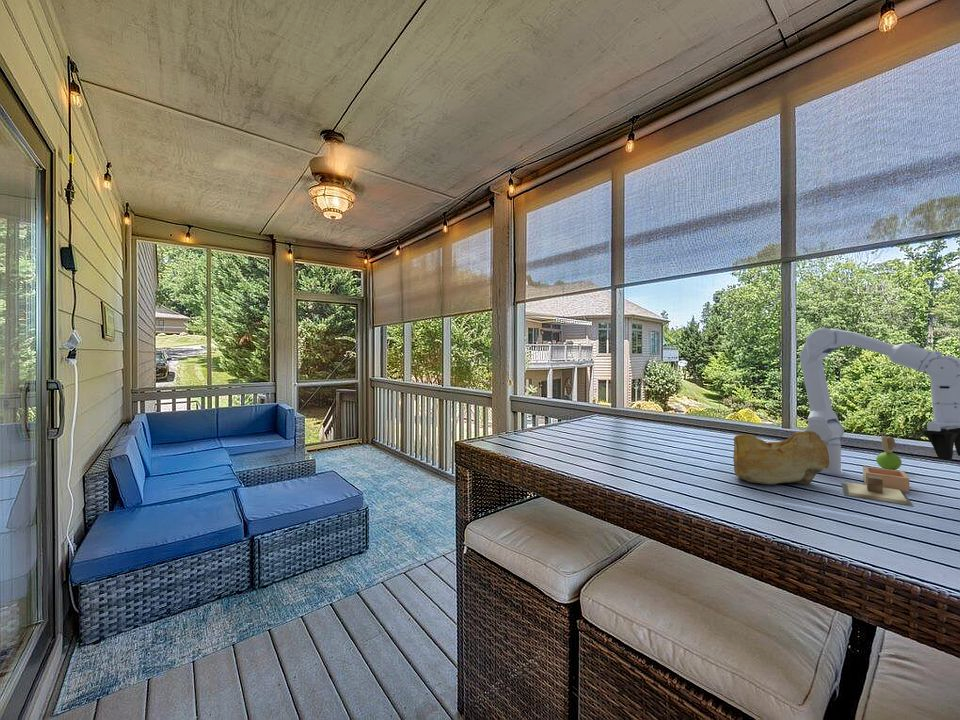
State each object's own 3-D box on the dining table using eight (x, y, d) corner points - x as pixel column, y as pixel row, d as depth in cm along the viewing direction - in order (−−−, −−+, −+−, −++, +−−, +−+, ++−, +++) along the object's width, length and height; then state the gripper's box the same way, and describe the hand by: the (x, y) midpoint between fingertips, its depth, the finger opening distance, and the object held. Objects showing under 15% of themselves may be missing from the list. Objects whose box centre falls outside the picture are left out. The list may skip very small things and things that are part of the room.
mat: (844, 497, 99) (844, 495, 99) (841, 484, 109) (841, 483, 109) (914, 508, 92) (914, 506, 92) (904, 494, 101) (904, 492, 101)
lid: (849, 495, 100) (849, 478, 100) (846, 485, 107) (846, 469, 107) (907, 504, 93) (907, 486, 93) (899, 492, 101) (899, 476, 101)
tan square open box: (866, 487, 106) (866, 472, 106) (862, 480, 112) (862, 466, 112) (909, 493, 101) (909, 478, 101) (903, 485, 107) (903, 471, 107)
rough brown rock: (802, 475, 120) (798, 426, 121) (839, 489, 104) (834, 432, 105) (719, 474, 125) (715, 427, 126) (742, 487, 108) (738, 432, 110)
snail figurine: (871, 469, 123) (871, 430, 123) (881, 466, 125) (881, 429, 125) (895, 473, 118) (895, 434, 118) (905, 470, 121) (905, 432, 120)
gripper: (953, 406, 93) (959, 463, 93) (991, 402, 97) (997, 457, 97) (913, 404, 100) (919, 458, 100) (951, 401, 104) (956, 452, 103)
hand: (955, 457), depth 99 cm, fingers open, 7 cm apart
